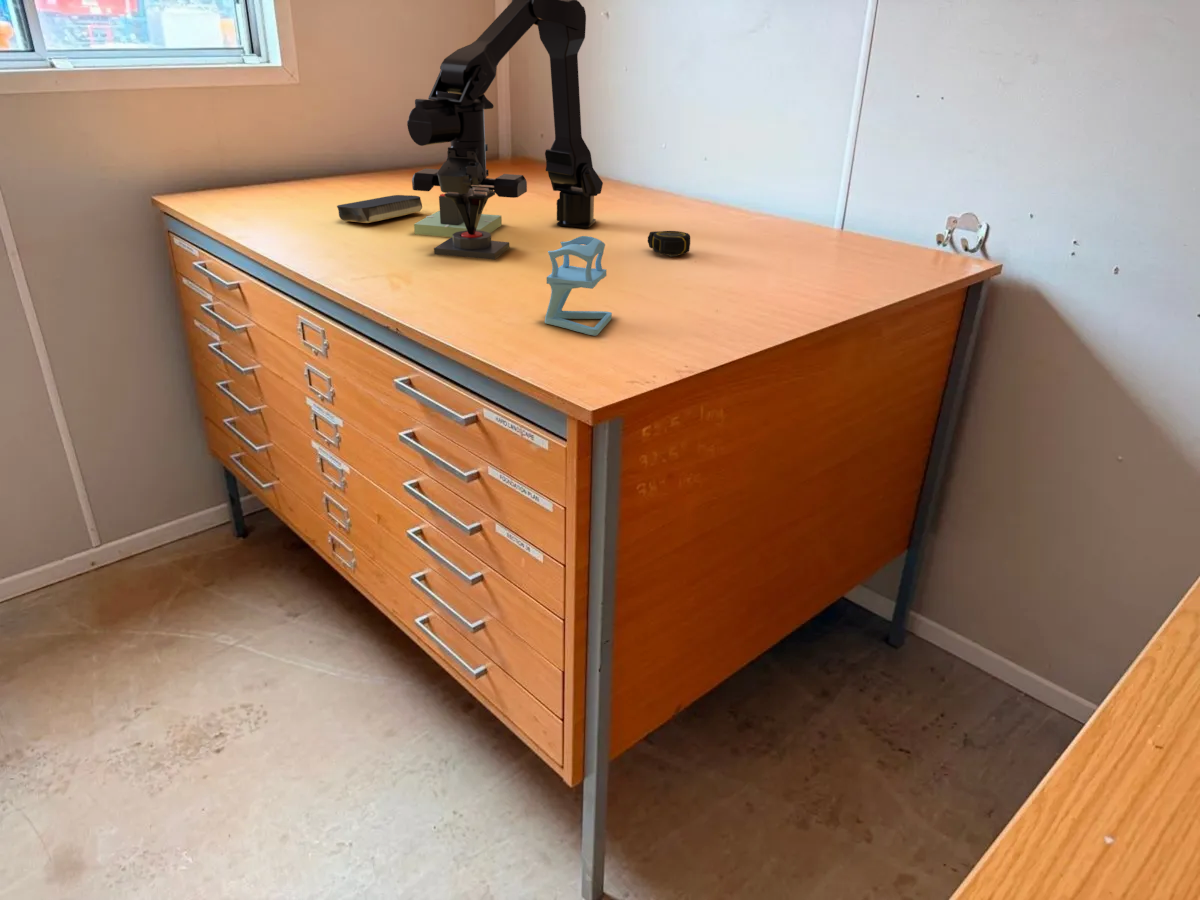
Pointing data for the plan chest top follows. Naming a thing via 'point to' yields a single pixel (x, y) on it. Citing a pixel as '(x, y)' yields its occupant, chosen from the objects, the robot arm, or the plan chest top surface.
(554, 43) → the robot arm
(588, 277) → the chair
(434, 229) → the pale green square pad
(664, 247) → the tape measure
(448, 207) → the block
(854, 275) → the plan chest top surface
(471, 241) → the button box
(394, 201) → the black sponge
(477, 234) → the button
